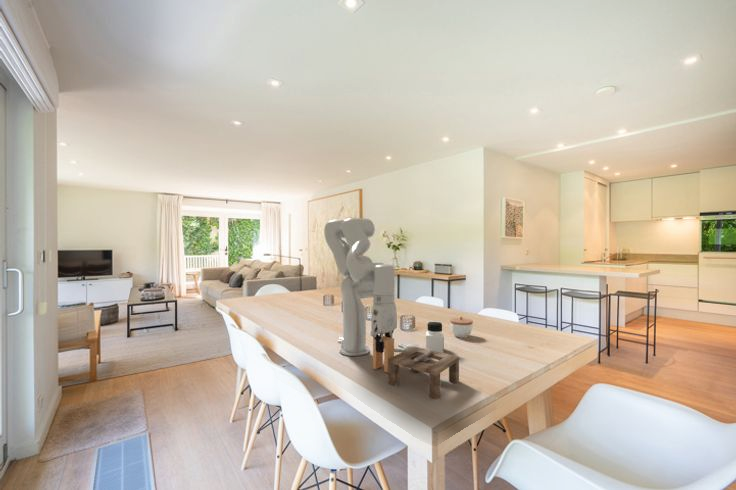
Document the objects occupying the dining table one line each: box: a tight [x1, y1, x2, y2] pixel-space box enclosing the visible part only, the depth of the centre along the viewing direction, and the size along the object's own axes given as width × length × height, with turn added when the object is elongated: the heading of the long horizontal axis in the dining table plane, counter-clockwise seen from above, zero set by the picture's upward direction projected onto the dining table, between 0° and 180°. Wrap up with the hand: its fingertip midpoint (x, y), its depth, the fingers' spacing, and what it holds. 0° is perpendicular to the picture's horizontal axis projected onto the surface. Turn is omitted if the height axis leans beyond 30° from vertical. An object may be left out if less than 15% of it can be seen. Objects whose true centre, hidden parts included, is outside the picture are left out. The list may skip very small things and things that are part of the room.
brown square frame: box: [388, 347, 460, 400], centre depth 105 cm, size 17×16×9 cm
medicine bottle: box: [425, 320, 445, 353], centre depth 137 cm, size 7×7×12 cm
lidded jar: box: [449, 316, 474, 338], centre depth 159 cm, size 11×11×9 cm
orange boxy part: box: [372, 334, 395, 374], centre depth 116 cm, size 6×4×11 cm, turn 51°
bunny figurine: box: [394, 343, 433, 363], centre depth 128 cm, size 10×5×15 cm
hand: (383, 349), depth 116 cm, fingers closed on orange boxy part, 4 cm apart
